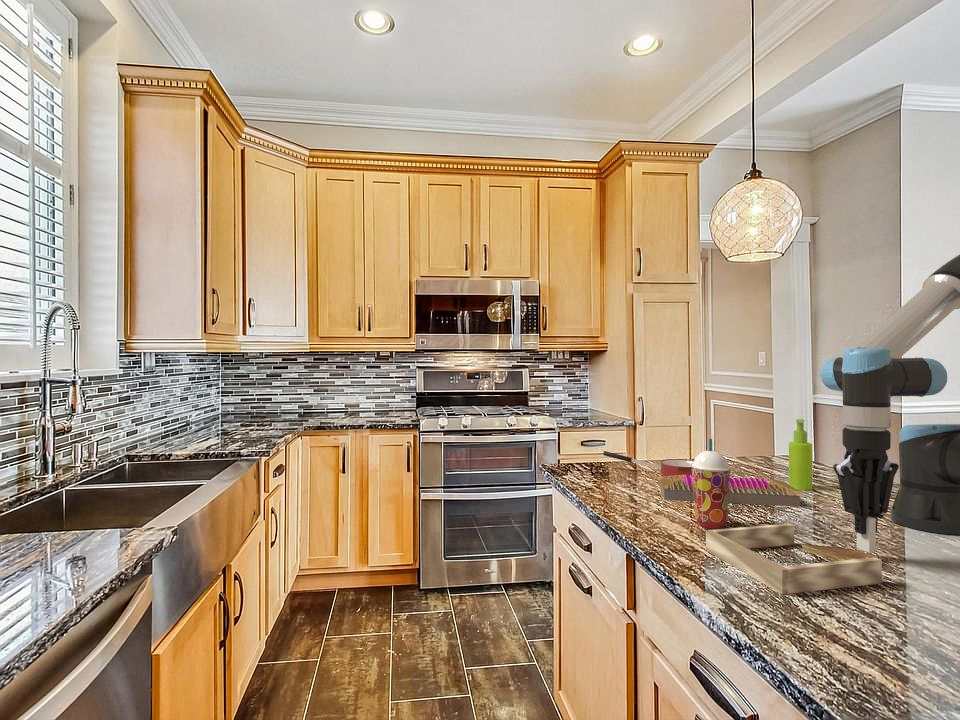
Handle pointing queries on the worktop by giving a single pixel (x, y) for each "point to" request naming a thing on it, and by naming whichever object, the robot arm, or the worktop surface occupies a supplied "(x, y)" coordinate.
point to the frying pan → (662, 465)
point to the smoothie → (711, 488)
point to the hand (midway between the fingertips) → (866, 549)
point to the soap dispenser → (800, 459)
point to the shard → (836, 552)
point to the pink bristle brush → (735, 491)
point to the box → (787, 579)
